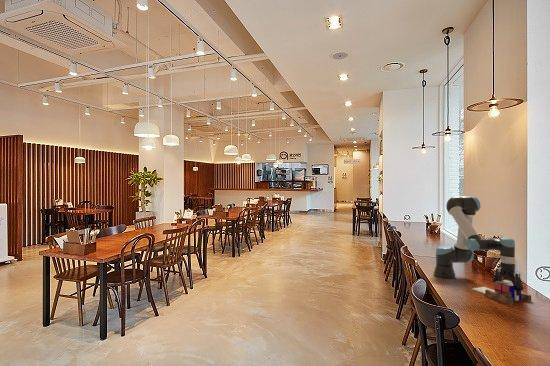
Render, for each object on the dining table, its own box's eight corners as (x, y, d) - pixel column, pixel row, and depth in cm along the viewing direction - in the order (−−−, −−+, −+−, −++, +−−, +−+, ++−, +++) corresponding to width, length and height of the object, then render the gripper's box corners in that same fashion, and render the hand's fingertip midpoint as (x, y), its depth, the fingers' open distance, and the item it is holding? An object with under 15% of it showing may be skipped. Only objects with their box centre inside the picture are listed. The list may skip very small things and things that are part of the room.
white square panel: (472, 289, 212) (472, 288, 212) (484, 287, 215) (484, 286, 215) (487, 295, 201) (487, 293, 201) (499, 293, 204) (499, 292, 204)
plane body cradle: (485, 295, 200) (484, 282, 200) (505, 292, 205) (505, 279, 205) (510, 305, 185) (510, 290, 185) (531, 301, 190) (531, 287, 190)
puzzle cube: (509, 302, 189) (509, 286, 189) (494, 296, 198) (494, 281, 198) (521, 300, 191) (521, 284, 191) (505, 295, 201) (505, 279, 201)
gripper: (486, 258, 205) (486, 291, 205) (522, 267, 183) (522, 304, 183) (494, 258, 207) (494, 290, 207) (531, 266, 185) (531, 303, 185)
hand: (507, 297), depth 195 cm, fingers closed on puzzle cube, 10 cm apart
